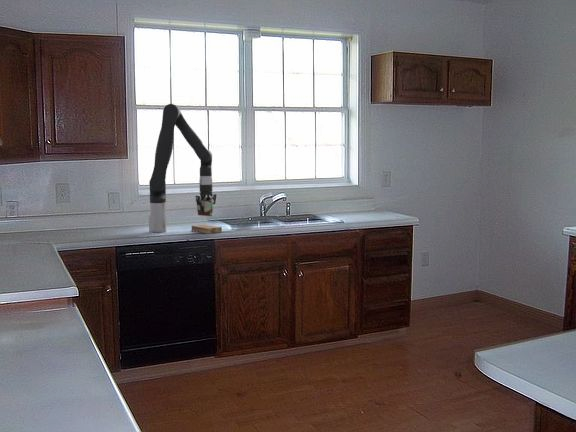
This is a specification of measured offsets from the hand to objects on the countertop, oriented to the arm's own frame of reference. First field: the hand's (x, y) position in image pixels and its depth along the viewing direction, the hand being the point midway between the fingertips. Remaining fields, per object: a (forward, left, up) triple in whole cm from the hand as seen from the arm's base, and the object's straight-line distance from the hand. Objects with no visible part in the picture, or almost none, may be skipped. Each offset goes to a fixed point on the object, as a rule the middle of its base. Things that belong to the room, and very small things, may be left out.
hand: (206, 212), depth 373 cm
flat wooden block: (0, 0, -12) cm, 12 cm away
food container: (+1, 0, -2) cm, 2 cm away
